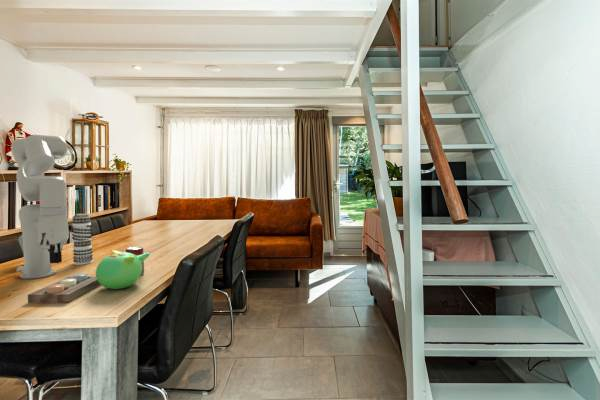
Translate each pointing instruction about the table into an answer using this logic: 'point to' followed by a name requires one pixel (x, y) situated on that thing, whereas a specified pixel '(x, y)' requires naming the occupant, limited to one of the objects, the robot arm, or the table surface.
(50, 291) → the terracotta button
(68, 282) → the cream button
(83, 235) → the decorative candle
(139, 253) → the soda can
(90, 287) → the brown wooden tray
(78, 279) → the slate-blue button
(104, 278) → the green rounded body
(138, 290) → the table surface
